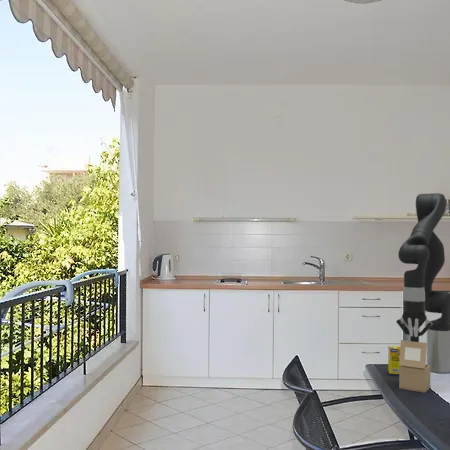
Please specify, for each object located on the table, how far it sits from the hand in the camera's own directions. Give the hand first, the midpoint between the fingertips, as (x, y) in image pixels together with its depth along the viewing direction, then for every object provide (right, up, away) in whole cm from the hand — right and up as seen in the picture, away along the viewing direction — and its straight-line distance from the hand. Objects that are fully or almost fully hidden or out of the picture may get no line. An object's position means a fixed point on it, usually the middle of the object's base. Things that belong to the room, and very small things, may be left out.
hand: (414, 346), depth 191 cm
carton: (0, -15, 0) cm, 15 cm away
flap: (-1, -2, -2) cm, 3 cm away
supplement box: (0, -16, +21) cm, 26 cm away
